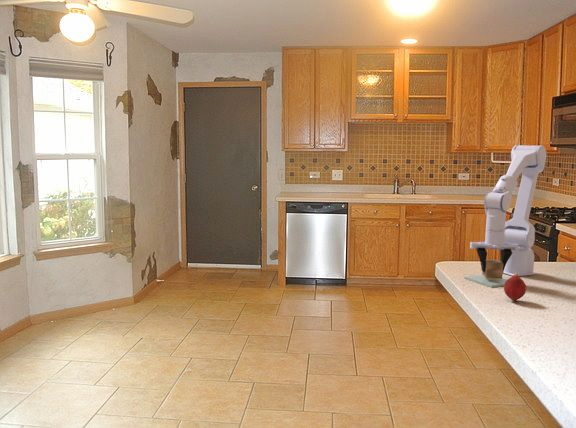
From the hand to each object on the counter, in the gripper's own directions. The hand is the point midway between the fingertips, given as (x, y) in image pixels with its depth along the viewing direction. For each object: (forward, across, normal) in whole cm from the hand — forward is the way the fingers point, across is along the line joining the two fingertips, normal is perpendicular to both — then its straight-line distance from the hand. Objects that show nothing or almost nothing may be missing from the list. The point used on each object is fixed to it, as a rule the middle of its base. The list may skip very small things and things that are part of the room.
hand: (492, 271), depth 174 cm
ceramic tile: (+3, 0, 0) cm, 3 cm away
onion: (+3, +1, -22) cm, 22 cm away
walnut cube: (+2, 0, 0) cm, 2 cm away
